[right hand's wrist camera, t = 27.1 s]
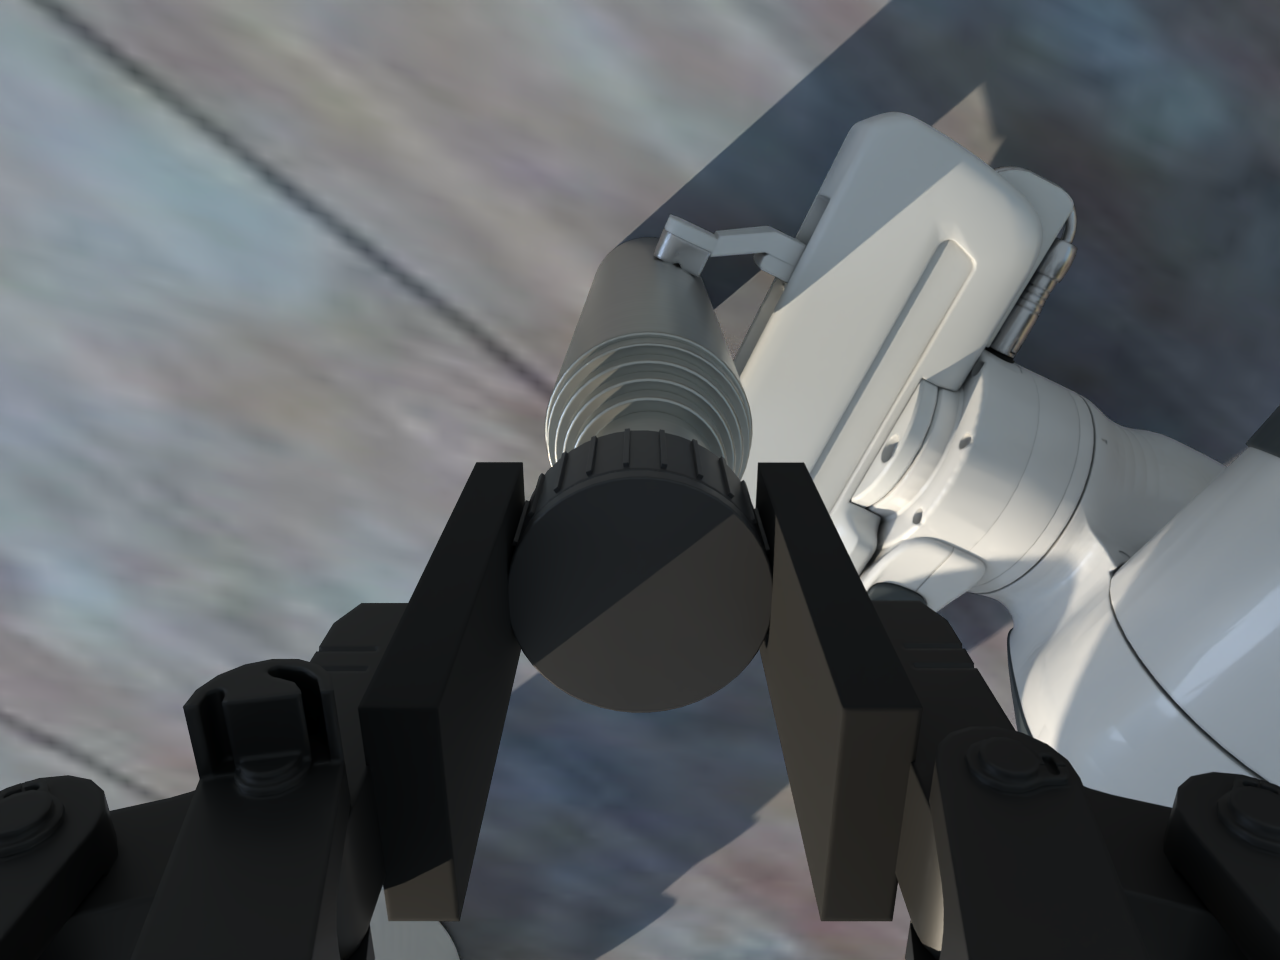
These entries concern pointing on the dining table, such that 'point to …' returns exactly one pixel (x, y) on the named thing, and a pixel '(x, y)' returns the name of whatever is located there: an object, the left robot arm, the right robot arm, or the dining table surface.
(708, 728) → the dining table surface
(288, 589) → the dining table surface
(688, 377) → the bottle
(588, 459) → the cap
